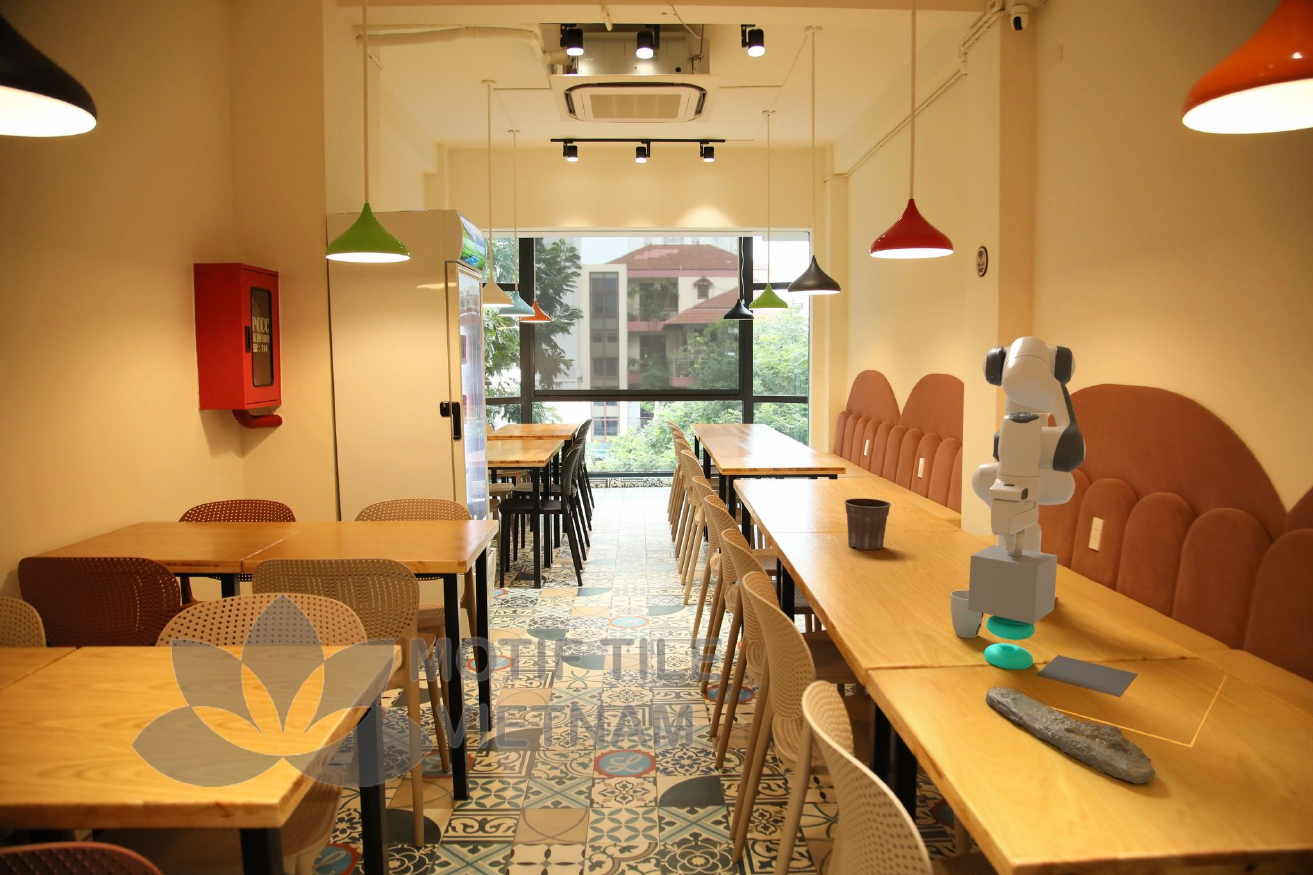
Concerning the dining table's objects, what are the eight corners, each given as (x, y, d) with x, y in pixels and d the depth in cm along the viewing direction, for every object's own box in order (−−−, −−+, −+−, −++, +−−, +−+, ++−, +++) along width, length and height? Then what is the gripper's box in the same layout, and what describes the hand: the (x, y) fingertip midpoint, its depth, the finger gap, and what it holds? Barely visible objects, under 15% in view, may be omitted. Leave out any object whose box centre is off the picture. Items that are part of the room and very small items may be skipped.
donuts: (1006, 610, 185) (1045, 623, 176) (1004, 652, 186) (1042, 667, 177) (976, 616, 180) (1014, 630, 172) (974, 659, 181) (1011, 675, 173)
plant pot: (894, 552, 280) (896, 506, 279) (848, 551, 280) (850, 506, 279) (882, 541, 296) (884, 498, 295) (838, 541, 297) (839, 497, 295)
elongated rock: (1012, 702, 163) (972, 711, 159) (1011, 677, 162) (971, 685, 159) (1173, 779, 130) (1127, 793, 126) (1173, 748, 129) (1126, 761, 126)
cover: (990, 596, 188) (994, 523, 186) (1053, 609, 178) (1058, 532, 177) (968, 609, 177) (972, 532, 176) (1033, 624, 168) (1038, 543, 167)
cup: (986, 641, 193) (988, 601, 192) (951, 639, 194) (953, 598, 193) (980, 630, 201) (982, 591, 200) (946, 628, 202) (947, 589, 201)
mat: (1057, 656, 183) (1057, 654, 183) (1137, 675, 173) (1137, 673, 173) (1035, 676, 172) (1035, 675, 172) (1119, 698, 161) (1119, 696, 161)
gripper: (1018, 480, 185) (1015, 539, 186) (986, 490, 170) (983, 554, 171) (1048, 483, 181) (1044, 543, 182) (1017, 494, 166) (1013, 560, 167)
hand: (1014, 549), depth 177 cm, fingers closed on cover, 3 cm apart
